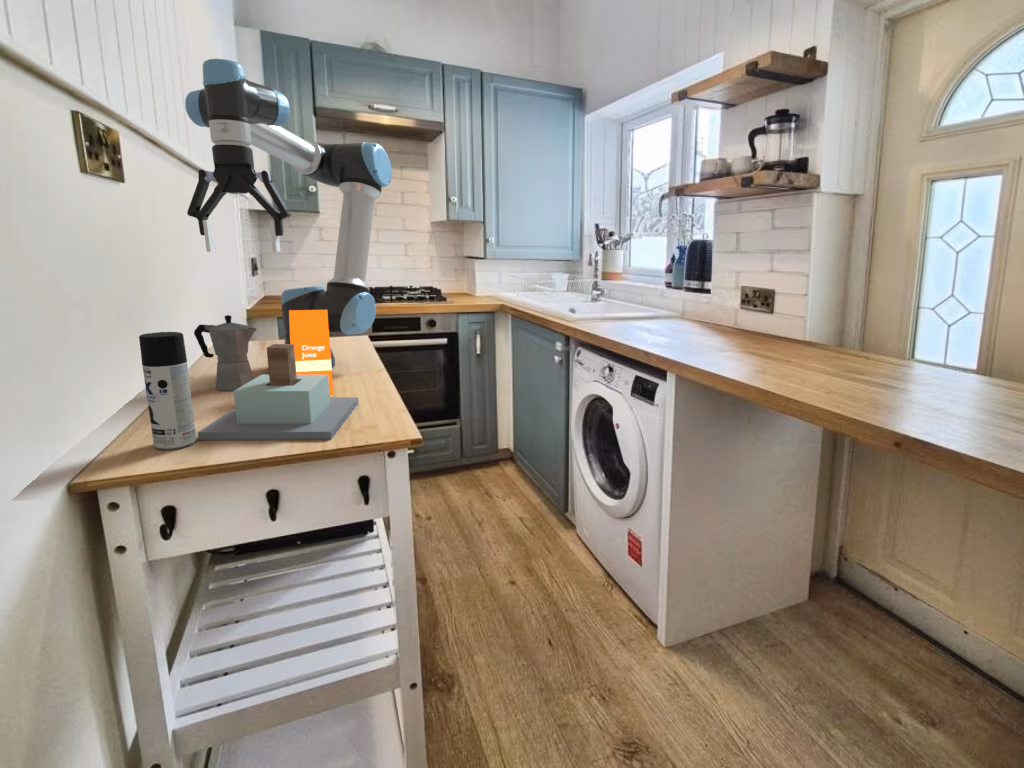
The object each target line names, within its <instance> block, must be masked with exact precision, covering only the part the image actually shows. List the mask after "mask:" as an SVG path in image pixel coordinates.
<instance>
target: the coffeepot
mask: <svg viewBox="0 0 1024 768" xmlns="http://www.w3.org/2000/svg"><path fill="white" fill-rule="evenodd" d="M223 317H224V320H225V322H224V323H221V324H217V325H214V324H198V326H197V327H196V328H195V329H194V332H193V333H194V337H195V338H196V341H197V343H198V345H199V347H200V349H201V351H202V353H203V356H204V357H205V358H213V357H214V356H217V363H216V376H215V377H216V379H215V389H216V390H217V391H224V392H234V391H235V390H236V389H238V388H240V387H241V386H243V385H245V384H246V383H248V382H250V381H251V380H253V379H255V378H254V375H253V371H252V369H251V365H250V362H249V360H248V354H249V343H250V340H251V338H252V337H253V335H254V333H255V332H256V331H257V329H256V327H252V326H250V325H247V324H241V323H238V322H237V323H236V322H232V315H229V314H227V315H225V316H223ZM203 333H207V334H209V336H210V340H211V343H212V347H213V351H214V353H210V352H209V349H208V346H207V344H206V342H205V338H204V336H203ZM214 354H215V355H214Z"/></svg>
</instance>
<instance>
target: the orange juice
mask: <svg viewBox="0 0 1024 768" xmlns="http://www.w3.org/2000/svg"><path fill="white" fill-rule="evenodd" d="M289 323H290V343H291V344H294V350H295V362H296V374H310V375H328V380H329V395H333V394H334V386H333V385H334V384H333V369H332V368H333V367H332V365H331V353H330V347H331V341H330V339H331V337H330V333H329V327H328V312H327V310H289Z"/></svg>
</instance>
